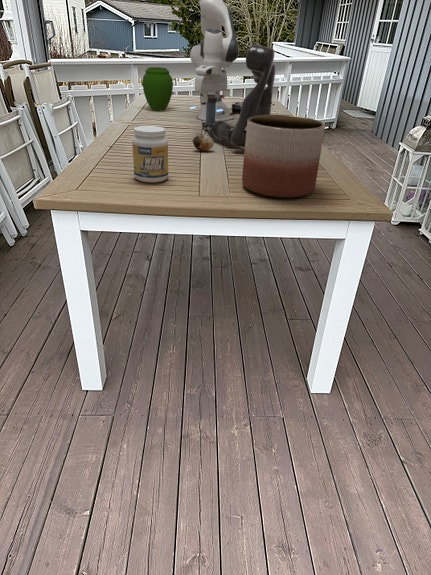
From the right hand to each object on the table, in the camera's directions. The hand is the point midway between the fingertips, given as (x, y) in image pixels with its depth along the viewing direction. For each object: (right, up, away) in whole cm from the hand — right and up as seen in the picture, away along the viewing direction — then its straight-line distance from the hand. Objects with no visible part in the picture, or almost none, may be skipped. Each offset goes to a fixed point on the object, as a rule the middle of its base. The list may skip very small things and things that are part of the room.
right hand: (207, 123), depth 206 cm
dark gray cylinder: (+1, -6, +1) cm, 7 cm away
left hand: (+2, +8, -8) cm, 11 cm away
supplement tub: (-19, -43, -59) cm, 76 cm away
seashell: (-2, -21, -23) cm, 32 cm away
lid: (+2, +9, -8) cm, 13 cm away
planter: (+26, -48, -62) cm, 83 cm away
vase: (-34, +34, +62) cm, 78 cm away
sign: (+24, +40, +77) cm, 91 cm away
